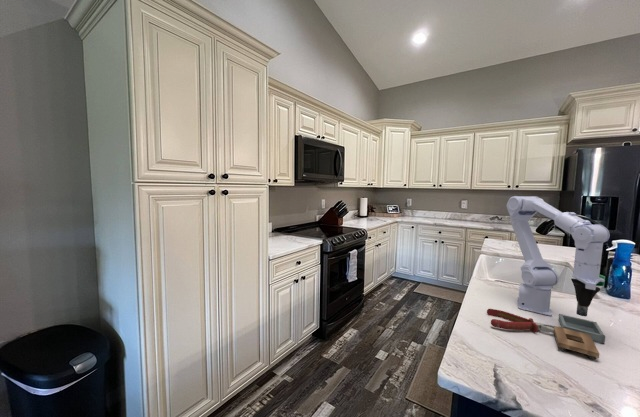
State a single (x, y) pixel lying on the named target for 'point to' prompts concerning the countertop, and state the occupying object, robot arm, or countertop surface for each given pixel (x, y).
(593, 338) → the tray
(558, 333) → the brown frame
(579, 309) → the stop pin
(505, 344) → the countertop surface
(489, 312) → the pliers
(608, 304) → the countertop surface
